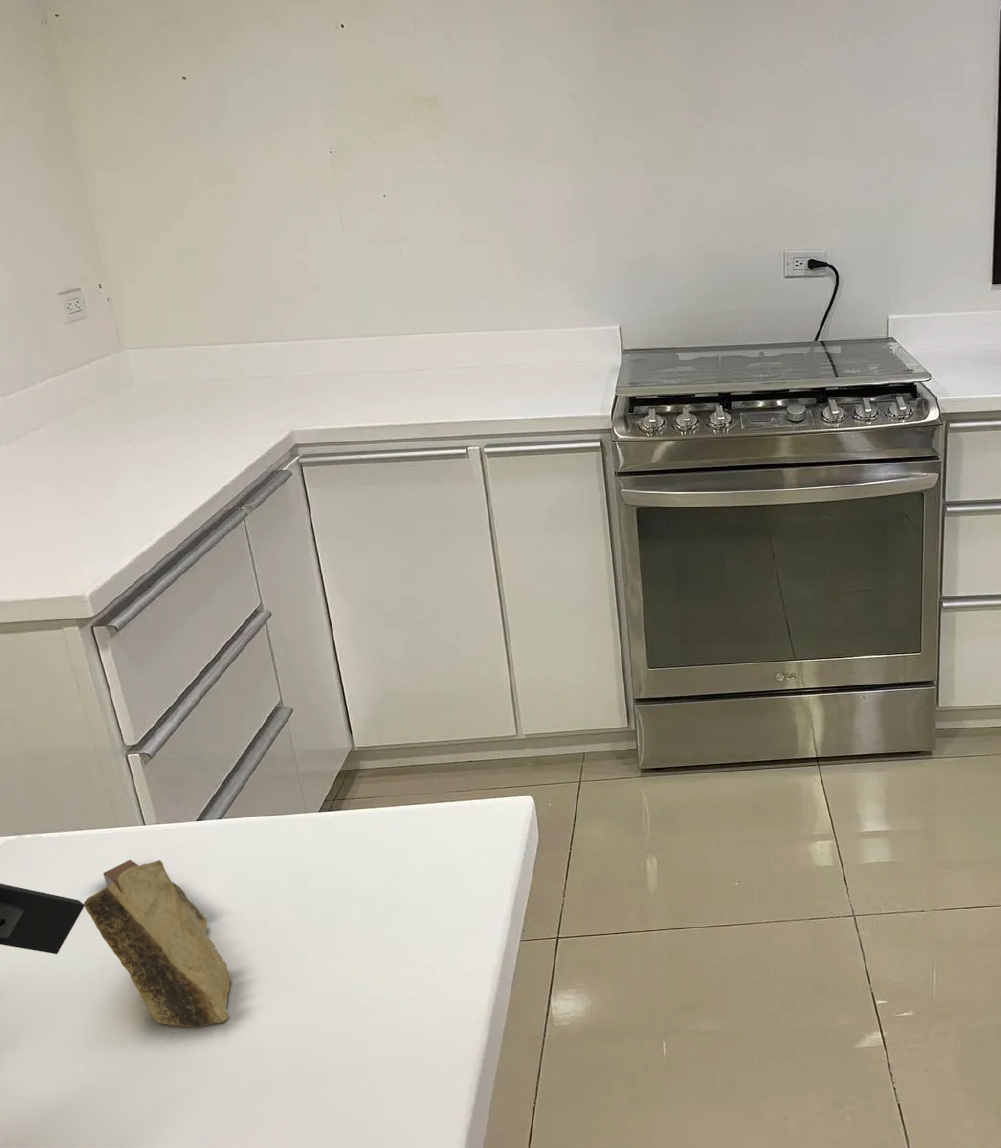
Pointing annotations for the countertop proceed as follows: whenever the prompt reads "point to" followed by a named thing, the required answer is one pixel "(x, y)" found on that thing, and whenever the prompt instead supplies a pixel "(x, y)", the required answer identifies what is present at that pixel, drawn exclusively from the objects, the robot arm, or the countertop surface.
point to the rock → (163, 946)
